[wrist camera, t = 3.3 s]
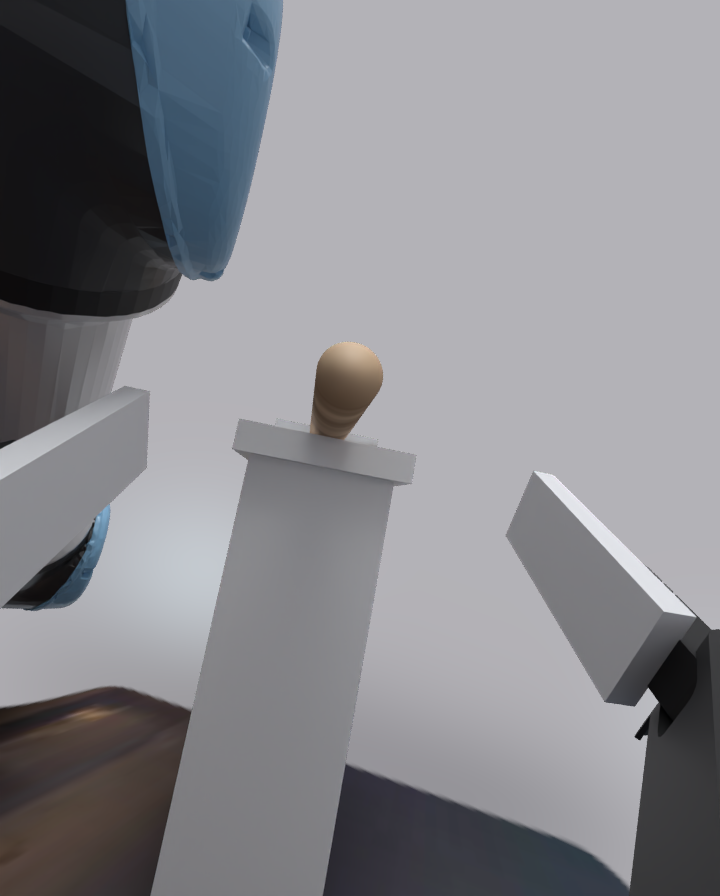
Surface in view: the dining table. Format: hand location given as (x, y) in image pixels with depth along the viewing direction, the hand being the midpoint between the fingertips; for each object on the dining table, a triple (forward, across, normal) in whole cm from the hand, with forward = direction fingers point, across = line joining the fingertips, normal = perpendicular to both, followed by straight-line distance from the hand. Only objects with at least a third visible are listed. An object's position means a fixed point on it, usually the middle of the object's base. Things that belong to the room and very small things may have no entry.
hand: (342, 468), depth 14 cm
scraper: (+15, 0, -5) cm, 16 cm away
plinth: (+4, 0, -34) cm, 34 cm away
